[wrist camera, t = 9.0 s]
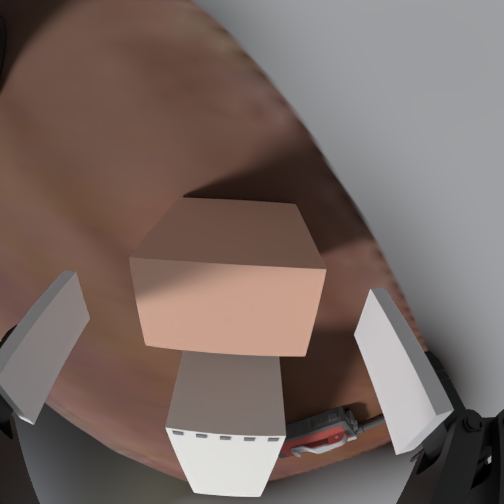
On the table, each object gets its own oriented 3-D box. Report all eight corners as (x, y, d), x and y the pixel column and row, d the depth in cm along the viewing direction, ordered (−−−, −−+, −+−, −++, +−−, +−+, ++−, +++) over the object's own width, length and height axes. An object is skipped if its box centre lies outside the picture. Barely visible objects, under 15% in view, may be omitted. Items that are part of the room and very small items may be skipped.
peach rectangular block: (179, 197, 19) (129, 257, 11) (295, 204, 19) (326, 269, 11) (181, 261, 21) (145, 345, 13) (287, 267, 21) (305, 356, 13)
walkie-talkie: (282, 449, 37) (403, 404, 32) (284, 472, 33) (412, 427, 28) (254, 430, 34) (395, 378, 29) (255, 457, 30) (406, 405, 25)
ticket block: (184, 347, 25) (165, 428, 17) (279, 353, 26) (287, 436, 18) (199, 442, 35) (194, 493, 27) (260, 446, 35) (260, 497, 27)
